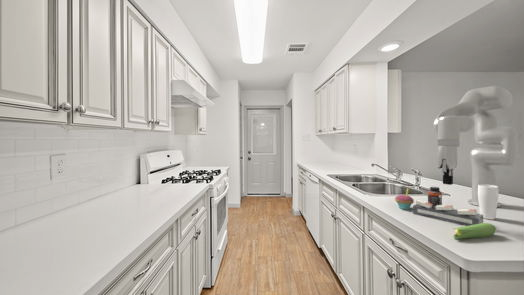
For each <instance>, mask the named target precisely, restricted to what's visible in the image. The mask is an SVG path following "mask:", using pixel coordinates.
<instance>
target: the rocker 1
mask: <svg viewBox="0 0 524 295" xmlns="http://www.w3.org/2000/svg"><path fill="white" fill-rule="evenodd" d="M416 204H419V205H421V206H424V207H427V208H431V207H432V204H430V203H428V201H424V200H421V199H417V200H416V201H415V205H416Z"/></svg>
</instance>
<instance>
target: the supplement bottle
mask: <svg viewBox="0 0 524 295" xmlns="http://www.w3.org/2000/svg"><path fill="white" fill-rule="evenodd" d="M427 203H430V204H432V205H434V206H437V205H443V193H442V192H441V191H440V187H438V186H429V190H428V191H427Z"/></svg>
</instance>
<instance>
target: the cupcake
mask: <svg viewBox="0 0 524 295" xmlns="http://www.w3.org/2000/svg"><path fill="white" fill-rule="evenodd" d="M409 187H410V186H408V187H407V188H406V193H405V194H401V195H400V194H399V195H397V196H395V198H394V201H395V202H396V203H397V205H398V208H399V210H404V211H405V210H410V208H411V206H412V204H414V202H415V201H414V198H412V197H411V196H409V190H410V189H409Z"/></svg>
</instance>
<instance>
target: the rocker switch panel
mask: <svg viewBox="0 0 524 295" xmlns="http://www.w3.org/2000/svg"><path fill="white" fill-rule="evenodd" d="M458 210H459V209H455V208H453V209H452V210H436V208H435V206H434V205H432V207H431V208H427V207H424V206H421V205H419V204H416V203H415V204H414V205H413V206H412V214H413V215H418V216H422V217H426V218H430V219H435V220H438V221H443V222H444V221H445V222H448V223H452V224H457V225H461V226H464V227H465V226H470V225H475V224H480V223H484V218H483V215H481V214H480V213H477V214H476V215H466V214H458V212H457V211H458Z"/></svg>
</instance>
